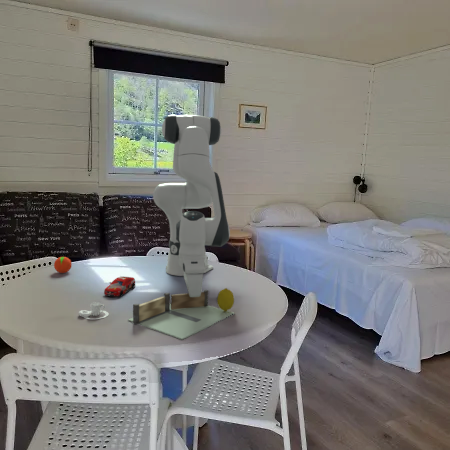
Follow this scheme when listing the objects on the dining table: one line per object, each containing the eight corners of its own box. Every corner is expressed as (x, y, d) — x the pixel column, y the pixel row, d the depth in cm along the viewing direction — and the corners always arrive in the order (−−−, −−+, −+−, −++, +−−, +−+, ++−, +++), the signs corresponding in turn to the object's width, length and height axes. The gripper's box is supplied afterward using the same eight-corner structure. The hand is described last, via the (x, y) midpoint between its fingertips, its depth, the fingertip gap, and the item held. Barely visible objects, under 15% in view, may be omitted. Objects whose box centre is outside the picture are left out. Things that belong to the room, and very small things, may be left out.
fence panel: (171, 310, 142) (172, 294, 141) (170, 308, 144) (170, 293, 143) (208, 306, 147) (209, 291, 146) (207, 304, 148) (207, 289, 148)
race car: (117, 299, 154) (117, 286, 153) (100, 297, 155) (100, 284, 155) (138, 286, 169) (138, 274, 168) (122, 284, 171) (122, 272, 170)
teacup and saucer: (75, 319, 135) (75, 306, 134) (87, 310, 143) (87, 298, 142) (101, 322, 134) (101, 309, 133) (112, 312, 141) (112, 300, 141)
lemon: (236, 313, 142) (236, 290, 141) (220, 315, 140) (220, 291, 139) (230, 307, 147) (231, 285, 146) (214, 309, 145) (215, 286, 144)
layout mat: (183, 299, 155) (183, 298, 155) (234, 314, 143) (234, 312, 143) (127, 321, 134) (127, 319, 134) (181, 340, 121) (181, 338, 121)
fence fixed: (166, 309, 144) (166, 292, 143) (170, 310, 143) (170, 293, 142) (131, 323, 131) (131, 304, 130) (136, 324, 130) (135, 306, 129)
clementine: (70, 275, 180) (70, 258, 179) (52, 276, 178) (52, 259, 177) (72, 270, 187) (72, 254, 186) (55, 270, 186) (55, 254, 185)
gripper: (179, 252, 154) (179, 289, 157) (185, 270, 134) (185, 312, 137) (197, 252, 155) (196, 288, 158) (205, 269, 135) (204, 311, 138)
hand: (191, 299), depth 147 cm, fingers closed
